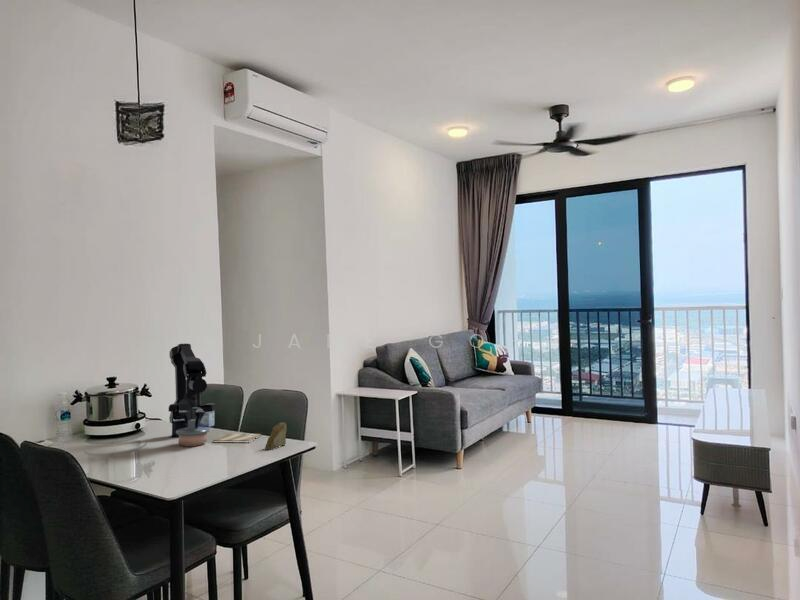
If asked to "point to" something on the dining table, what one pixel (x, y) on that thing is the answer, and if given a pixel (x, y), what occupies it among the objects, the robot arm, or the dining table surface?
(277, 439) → the rock
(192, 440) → the bowl
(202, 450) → the dining table surface
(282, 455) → the dining table surface
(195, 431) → the lid
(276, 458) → the dining table surface
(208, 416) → the medicine box
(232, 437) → the board
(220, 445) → the dining table surface
